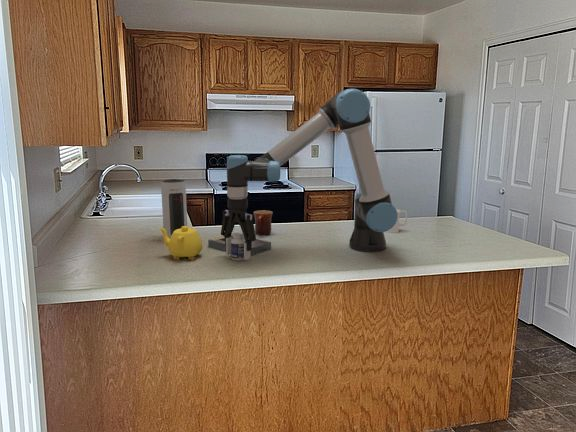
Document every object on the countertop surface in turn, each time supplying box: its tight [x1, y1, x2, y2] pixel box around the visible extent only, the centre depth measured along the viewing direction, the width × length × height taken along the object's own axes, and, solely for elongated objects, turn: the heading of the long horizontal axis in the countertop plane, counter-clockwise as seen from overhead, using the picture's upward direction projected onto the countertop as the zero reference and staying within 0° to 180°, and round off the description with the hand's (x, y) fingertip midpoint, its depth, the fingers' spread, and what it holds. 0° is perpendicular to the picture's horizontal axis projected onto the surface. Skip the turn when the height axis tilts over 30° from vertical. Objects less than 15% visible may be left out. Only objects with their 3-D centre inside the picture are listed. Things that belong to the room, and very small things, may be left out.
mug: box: [253, 209, 274, 236], centre depth 220 cm, size 12×9×10 cm
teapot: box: [158, 225, 203, 261], centre depth 185 cm, size 14×14×12 cm
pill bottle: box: [230, 232, 245, 261], centre depth 183 cm, size 5×5×10 cm
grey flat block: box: [207, 233, 272, 257], centre depth 198 cm, size 22×14×3 cm, turn 51°
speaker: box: [160, 178, 188, 239], centre depth 210 cm, size 11×10×26 cm
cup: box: [384, 208, 408, 234], centre depth 230 cm, size 8×12×10 cm
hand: (238, 256), depth 184 cm, fingers open, 9 cm apart
